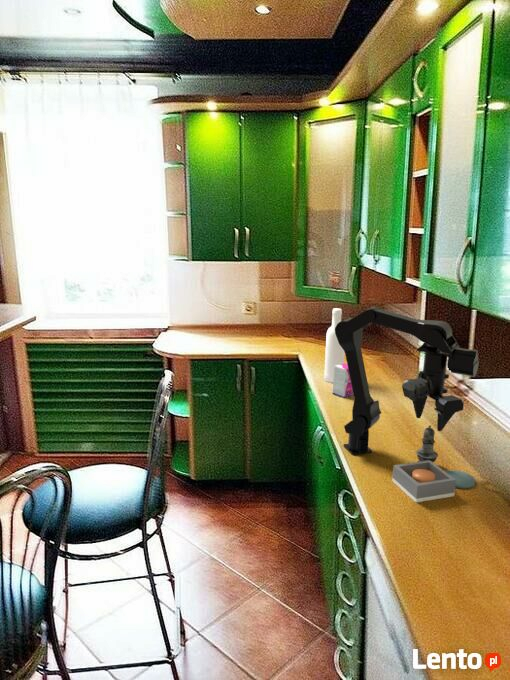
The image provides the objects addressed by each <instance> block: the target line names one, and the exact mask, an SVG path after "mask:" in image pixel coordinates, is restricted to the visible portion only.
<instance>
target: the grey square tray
mask: <svg viewBox="0 0 510 680" xmlns="http://www.w3.org/2000/svg"><path fill="white" fill-rule="evenodd" d="M392 468H393V469H392V479H391V480H392V481H391V482H392V483H394V484H395V485H396V486H397V487H398V488H399V489H401V491H403V493H405V494H406V495H407V496H408V497H409V498H410V499H411V500H412V501H413V502H415V503H422V502H427V501H433V500H438V499H439V500H440V499H445V498H451V497H452V498H453V497H455V492H456V488H455V485H456V480H455V479H454V478H453V477H451V476H450V475H449V474H448V473H446V472H445V471H446V470H443V468H441V467H440V466H438V464H435V462H432V461H430V460H428V461H421V462H417V461H415V462H409V463H400V464H393V467H392ZM416 469H425V470H429V471H431V472H433V473H434V474H435V481H431V482H424V483H419V482H417V481H415V480H414V479H413V478H412V472H413V471H414V470H416Z"/></svg>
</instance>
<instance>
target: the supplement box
mask: <svg viewBox="0 0 510 680" xmlns="http://www.w3.org/2000/svg"><path fill="white" fill-rule="evenodd" d="M331 393H332V395H334V396H337V397H339V398H342V399H344V398H346V397H350V396H353V391H352V386H351V381H350V376H349V370H348V365H347V363H345V362H344V364H340V365H336V366H335V367H334V380H333V383H332V392H331Z"/></svg>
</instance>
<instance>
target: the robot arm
mask: <svg viewBox="0 0 510 680" xmlns="http://www.w3.org/2000/svg"><path fill="white" fill-rule="evenodd" d="M372 324H375V325H378V326H381V327H385V328H388V329H391V330H394V331H399V332H401V333H405V334H408V335H410V336H413V337H415V338H416V339H418V340H419V341H421V342H422V344H421V346H419V347H417V349H416V351H417V352H420V353H424V359H423V369H422V370H419V372H418V373H417V374H418V375H417V377H416V378H409V379H405V380H404V382H403V383H402V384H401V388H402V392H403V396H404V397H405V398H408V399H409V400H410V401H412V405H413V408H414V409H413V410H414V413H415V416H416V419H421V418H422V415H423V412H424V410H425V406H426V403H427V400H428V397H429V398H430V399H433V400H434V405H435V407H434V411H435V412H436V413H437V420H436V421H437V424H436V427H437V432H442V431H443V430H444V428H445V427H446V426H447V425H448V422H449V421H450V420H451V418H452V417H453V416H454V415H455V414H456V413H459V412H461V411H464V404H465V402H464V400H462V399H461V398H459V397H457V396H455V395H453V394H451V395H450V394H449V395H444V394H448V389H447V388H445V384H446V383H445V382H446V379H449V378H450V374H448V373H446V372H447V369H448V371H450V372H451V373H452V374H455V375H462V376H467V377H472V378H475V377H476V375H477V372H478V371H479V370H478V369H479V365H480V364H479V363H480V360H479V355H478V353H479V350H477V349H475V348H474V349H473V348H472V349H468V348H461V347H460V344H459V343H458V342H457V340H456V338H455V337H454V335H453V330H452V326H451V325H450V324H449V323H448V322H447V321H443V320H433V319H432V320H431V319H417V318H414V317H410V316H407V315H403V314H400V313H396V312H391V311H388V310H385V309H383V308H379V307H377V306H371V307H369V308H366V309H365V310H364V311H363V312H361V313H360V314H357V316H354V317H350V318H347V319H344V320H341V322H339V323H338V324H337V325H336V327H335V334H336V337H337V340H338V343H339V344H340V346H341V347H342V349H343V350H344V352H345V353H344V356H345V359H346V364H347V365H348V370H349V376H350V381H351V386H352V391H353V395H352V396H353V405H352V409H351V410H352V411H351V412H352V413H351V414H352V417H351V418H352V420H350V421H349V422H348V423H346V424H345V425H343V428H344V432H345V434H347V435H348V443H344V444H343V447H344V448H345V449H346V450H347V451H348V452H349V453H350V454H351V455H353V456H355V455H363V454H364V455H365V454H369V453H370V454H371V453H373V449H371V448H370V447H369V443H370V442H369V439H370V438H369V437H370V435H369V433H370V431H369V429H371V428H372V427H373V426H374V425H375V424H377V423H378V421H379V420H380V416H381V414H382V411H381V408H380V401H379V400H374V399H373V397H372V396H371V393H370V388H369V384H368V383H369V381H368V377H367V373H366V369H365V364H364V363H365V361H364V357H363V352H362V344H363V339H364V332H363V331H364V329H365V328H367V327H368V326H371V325H372Z"/></svg>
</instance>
